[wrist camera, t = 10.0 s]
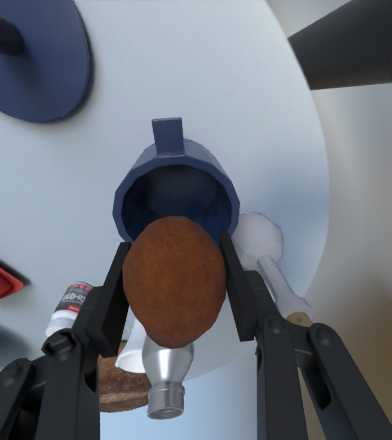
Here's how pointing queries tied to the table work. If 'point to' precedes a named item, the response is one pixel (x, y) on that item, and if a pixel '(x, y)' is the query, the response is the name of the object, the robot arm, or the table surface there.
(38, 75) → the lid
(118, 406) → the bread
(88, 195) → the table surface
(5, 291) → the butter dish
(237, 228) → the potion bottle
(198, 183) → the pot
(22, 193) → the table surface
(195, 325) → the potato
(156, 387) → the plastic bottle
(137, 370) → the cup
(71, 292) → the pill bottle
